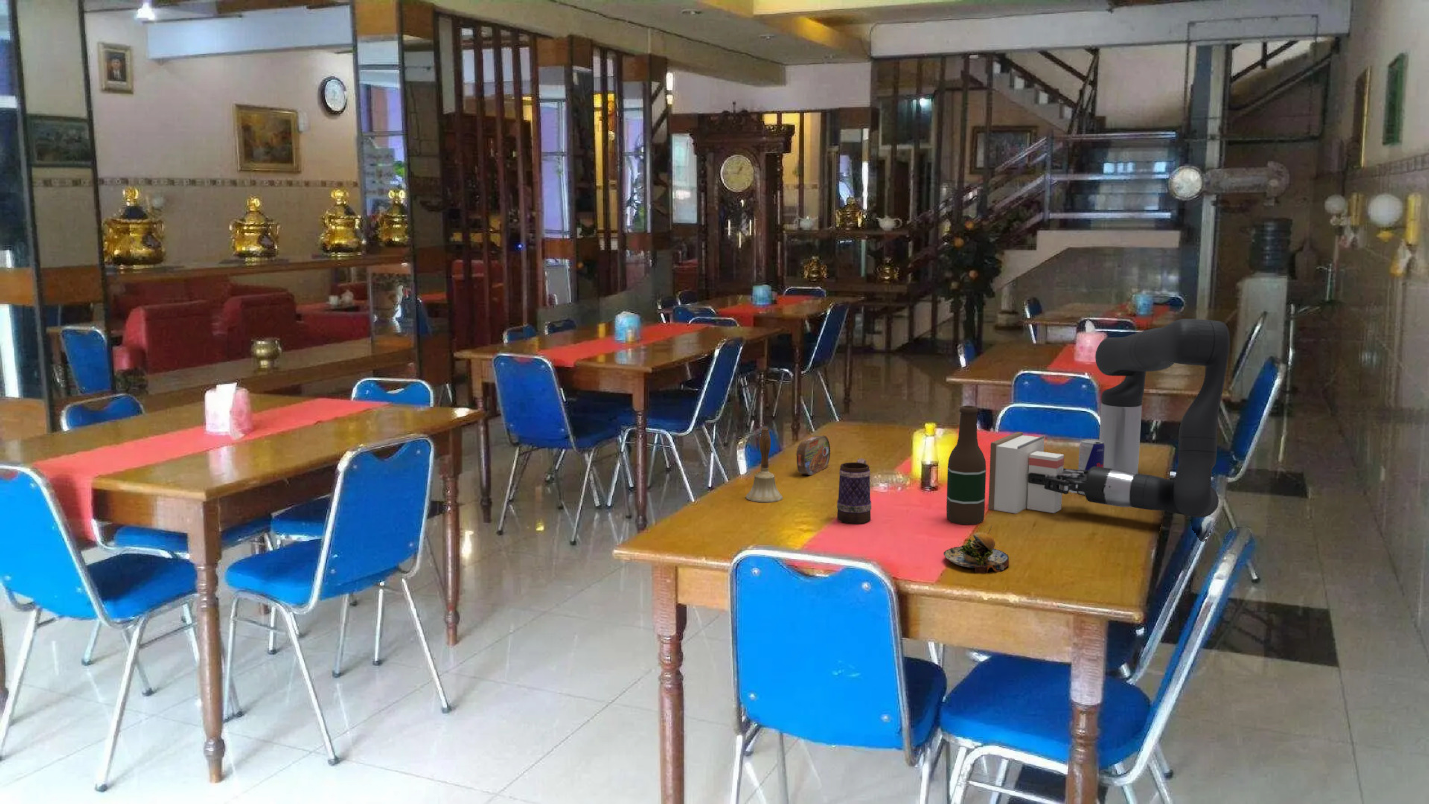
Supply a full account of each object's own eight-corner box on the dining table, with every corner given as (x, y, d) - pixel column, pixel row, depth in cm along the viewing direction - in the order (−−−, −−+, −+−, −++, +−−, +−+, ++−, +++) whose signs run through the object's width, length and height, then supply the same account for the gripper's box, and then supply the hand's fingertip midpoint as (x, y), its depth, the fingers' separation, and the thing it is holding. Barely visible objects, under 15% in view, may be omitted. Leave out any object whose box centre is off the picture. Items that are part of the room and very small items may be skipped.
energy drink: (1103, 496, 254) (1106, 444, 252) (1078, 495, 255) (1081, 443, 253) (1100, 490, 259) (1103, 439, 257) (1075, 489, 260) (1078, 438, 258)
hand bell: (788, 495, 257) (788, 426, 254) (774, 504, 249) (774, 433, 246) (754, 491, 260) (754, 423, 257) (739, 500, 253) (739, 430, 250)
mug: (864, 526, 232) (865, 469, 230) (832, 522, 235) (832, 465, 233) (879, 513, 241) (880, 458, 239) (848, 510, 244) (848, 455, 242)
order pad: (1015, 495, 255) (1017, 431, 253) (1041, 499, 252) (1044, 435, 249) (988, 509, 244) (990, 442, 242) (1015, 513, 240) (1018, 446, 238)
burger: (946, 552, 215) (947, 514, 214) (1010, 557, 212) (1012, 518, 211) (940, 571, 204) (941, 531, 203) (1007, 577, 201) (1009, 536, 199)
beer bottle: (986, 516, 238) (990, 404, 234) (982, 526, 231) (986, 410, 227) (948, 513, 241) (952, 402, 237) (943, 523, 234) (946, 408, 229)
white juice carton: (1034, 504, 247) (1036, 451, 245) (1061, 509, 244) (1064, 454, 242) (1026, 508, 244) (1029, 454, 242) (1054, 513, 241) (1057, 458, 238)
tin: (805, 478, 272) (806, 444, 271) (793, 477, 274) (794, 443, 272) (831, 466, 285) (831, 433, 284) (819, 464, 287) (820, 432, 285)
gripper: (1125, 463, 239) (1046, 452, 249) (1101, 476, 228) (1020, 464, 238) (1123, 497, 240) (1044, 485, 251) (1099, 512, 229) (1018, 499, 240)
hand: (1033, 475), depth 244 cm, fingers closed on white juice carton, 4 cm apart
